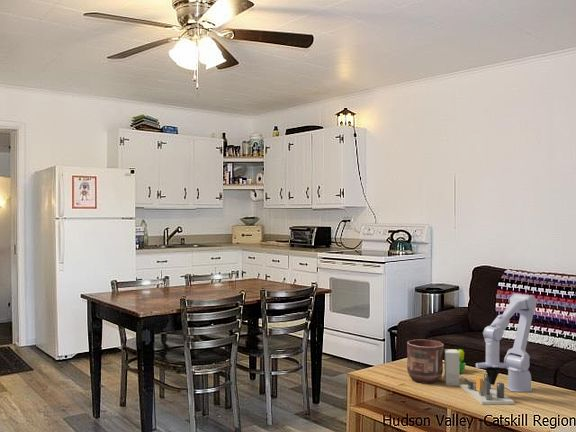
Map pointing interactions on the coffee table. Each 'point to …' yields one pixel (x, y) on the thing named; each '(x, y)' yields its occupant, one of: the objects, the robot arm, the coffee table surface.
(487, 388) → the paddle
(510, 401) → the breaker panel
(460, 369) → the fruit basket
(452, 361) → the skincare box
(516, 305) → the robot arm
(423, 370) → the pottery
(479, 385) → the block
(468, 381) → the paddle
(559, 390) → the coffee table surface
